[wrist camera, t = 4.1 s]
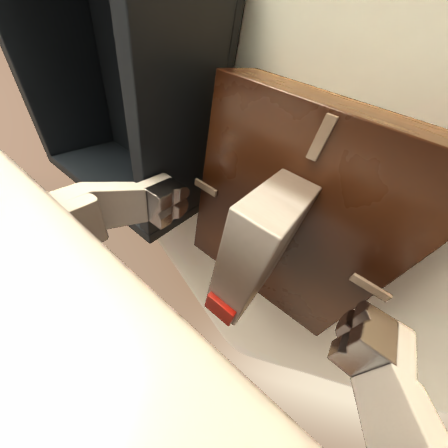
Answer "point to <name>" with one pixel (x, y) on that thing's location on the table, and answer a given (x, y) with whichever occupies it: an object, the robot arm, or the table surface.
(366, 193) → the tap panel
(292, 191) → the tap knob
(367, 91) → the table surface
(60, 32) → the dark grey open box
